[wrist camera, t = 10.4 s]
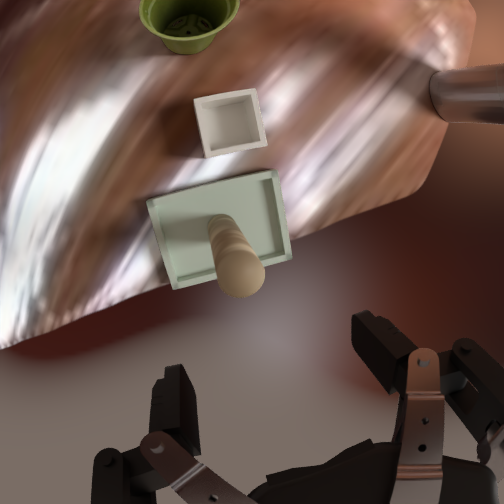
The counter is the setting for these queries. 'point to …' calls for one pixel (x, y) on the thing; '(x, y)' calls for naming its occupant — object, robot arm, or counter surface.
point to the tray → (209, 205)
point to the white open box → (229, 122)
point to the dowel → (234, 258)
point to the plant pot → (187, 21)
